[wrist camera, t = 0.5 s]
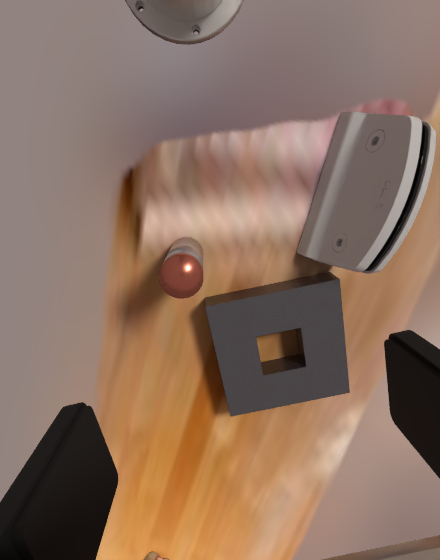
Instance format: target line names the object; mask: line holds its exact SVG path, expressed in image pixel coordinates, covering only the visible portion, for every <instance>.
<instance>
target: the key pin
mask: <svg viewBox="0 0 440 560" xmlns="http://www.w3.org/2000/svg"><path fill="white" fill-rule="evenodd" d="M159 282H160V285H161V287H162V289H163V290H164V291H165V292H166V293H167V294H168V295H170V296H172V297H175V298H188V297H191V296H193V295H194V294H196V293H197V292H198V291H199V289H200V288H201V286H202V283H203V249H202V247H201V245H200V244H199V242H198V241H196V240H195V239H193V238H189V237H183V238H180V239H178V240H176V241H175V242H174V243H173V244H172V246H171V248H170V250H169V252H168V254H167V256H166V258H165V261H164V263H163V265H162V267H161V269H160V272H159Z"/></svg>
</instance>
